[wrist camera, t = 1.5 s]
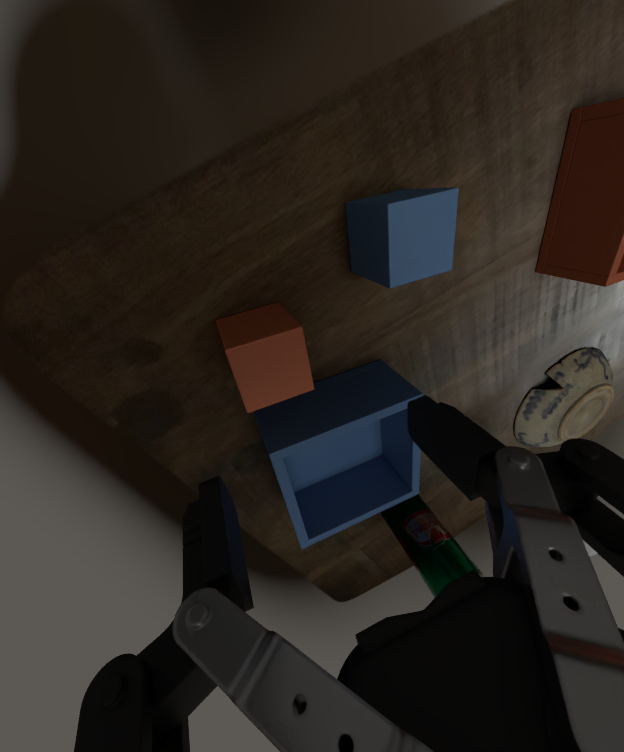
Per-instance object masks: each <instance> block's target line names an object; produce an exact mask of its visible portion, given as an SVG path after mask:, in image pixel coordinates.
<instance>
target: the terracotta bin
mask: <svg viewBox="0 0 624 752" xmlns="http://www.w3.org/2000/svg"><path fill="white" fill-rule="evenodd" d="M536 272H538V273H543V274H547V275H552V276H557V277H562V278H566V279H571V280H576V281H581V282H586V283H590V284H595V285H600V286H605V287H606V286H609V285H611V284H614V283H617V282H620V281H622V280H624V98H622V99H617V100H613V101H608V102H604V103H599V104H595V105H590V106H586V107H581V108H577V109H573V110H572V113H571V118H570V122H569V127H568V131H567V135H566V140H565V144H564V149H563V153H562V157H561V162H560V166H559V171H558V175H557V180H556V184H555V188H554V193H553V197H552V202H551V206H550V210H549V215H548V219H547V224H546V228H545V232H544V237H543V241H542V246H541V250H540V254H539V259H538V263H537V268H536Z"/></svg>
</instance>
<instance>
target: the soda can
mask: <svg viewBox="0 0 624 752" xmlns="http://www.w3.org/2000/svg"><path fill="white" fill-rule="evenodd" d="M381 515H382V516H383V518H384V520H385V521H386V523H387V524H388V526H389V527H390V529H391V530H392V532H393V533H394V535H395V537H396V538H397V540H398V541H399V543H400V544H401V546H402V547H403V549H404V551H405V552H406V554H407V555H408V557H409V558H410V560H411V561H412V563H413V565H414V566H415V568H416V569H417V571H418V572H419V574H420V575H421V577H422V579H423V580H424V582H425V583H426V584H427V586H428V588H429V589H430V591H431V593H432V594H433V596H434V597H436V596H437V595H438V594H439V593H440V591H441V590H442V589H443V588H444V587H445V586H446V585H447V584H448V583H450V582H451V581H453V580H455V579H457V578H459V577H461V576H462V575H464V574H466V573H468V572H470V571H471V570H473V569H475V570H476V571H477V573H478V574H479V575H480V576H481V577H483V574H482V573H481V571H480V570H479V569H478V568H477V566H476V565H475V564H474V563H473V562H472V560H471V559H470V558H469V557H468V555H467V554H466V553H465V552H464V550H463V549H462V548H461V547H460V545H459V544H458V543H457V542H456V540H455V539H454V538H453V537H452V536H451V534H450V533H449V532H448V531H447V529H446V528H445V527H444V526H443V524H442V523H441V522H440V521H439V520H438V518H437V517H436V516H435V515H434V513H433V512H432V511H431V510H430V508H429V507H428V506H427V505H426V503H425V502H424V501H423V500H422V499H421V497H420V496H419V495H418V494H417V495H415V496H413V497H411V498H409V499H407V500H405V501H402V502H400V503H398V504H396V505H394V506H392V507H390V508H388V509H386V510H384V511H381Z"/></svg>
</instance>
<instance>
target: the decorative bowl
mask: <svg viewBox="0 0 624 752" xmlns="http://www.w3.org/2000/svg"><path fill="white" fill-rule="evenodd" d="M546 374H547V375H548V376H549V377H550V378H552V379H553V380H554V381H556V382H557V383H558V384H559V385H560V386H561V388H557V389H548V390H542V389H532V390H531V391H530V393H529V394H528V395H527V396H526V398H525V399H524V400H523V402H522V404H521V405H520V408H519V410H518V413H517V415H516V418H515V424H514V432H515V437H516V439H517V440H518V441H519V442H520V443H521V444H523V445H527V446H533V447H549V446H554V445H557V444H560V443H563V442H564V441H566V440H569V439H577V438H579V437H581V436H583V435H584V434H585V433H587V432H588V431H589V430H590V429H591V428H593V427H594V426H595V425H596V424H597V423H598V421H599V420H600V419H601V418H602V417H603V416H604V414H605V413H606V411H607V410H608V408H609V407H610V405H611V403H612V400H613V397H614V388H613V387H612V382H613V375H612V370H611V367H610V364H609V362H608V360H607V359H606V357H605V356H604V354H603V353H602V352H601V351H600V350H599V349H597V348H592V349H589V348H587V349H581V350H578V351H577V352H575V353H573V354H570V355H568V356H566V358H565V359H564V360H562V361H561V364H559V363H558V364H556V365H555V366H553V367H552V368H551V369H550V370H549V371H548V372H546Z"/></svg>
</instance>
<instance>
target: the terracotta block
mask: <svg viewBox="0 0 624 752" xmlns="http://www.w3.org/2000/svg"><path fill="white" fill-rule="evenodd" d="M216 324H217V328H218V331H219V334H220V337H221V340H222V344H223V347H224V350H225V353H226V356H227V359H228V361H229V364H230V367H231V370H232V372H233V375H234V378H235V381H236V383H237V386H238V389H239V392H240V394H241V397H242V400H243V403H244V406H245V408H246V411H247V413H250V412H253V411H256V410H259V409H261V408H264V407H267V406H270V405H272V404H275V403H278V402H281V401H284V400H286V399H289V398H292V397H295V396H297V395H300V394H303V393H306V392H308V391H311V390H314V384H313V379H312V374H311V369H310V363H309V358H308V353H307V348H306V343H305V338H304V333H303V328H302V326H301V325H300V324H299V323H298V322H297V321H296V320H295V319H294V318H293V317H292V316H291V315H290V313H289V312H288V311H287V310H286V309H285V308H284V307H283V306H282V305H281V304H280V303H279V302H277V303H273V304H270V305H266V306H263V307H259V308H256V309H252V310H249V311H246V312H242V313H239V314H235V315H232V316H228V317H225V318H221V319H218V320H216Z"/></svg>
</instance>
